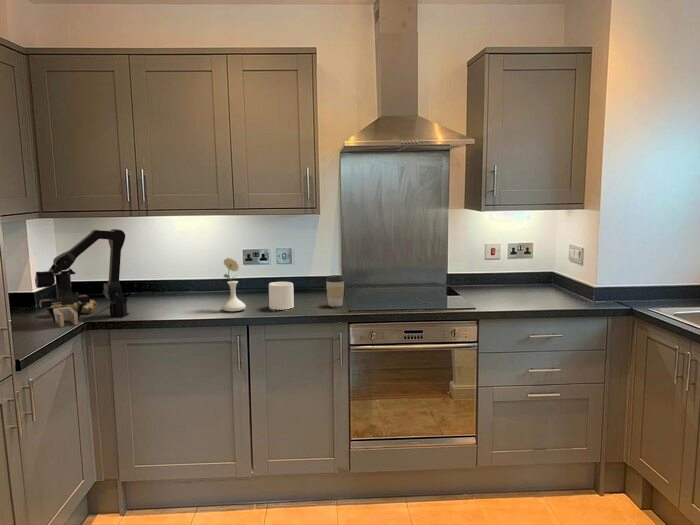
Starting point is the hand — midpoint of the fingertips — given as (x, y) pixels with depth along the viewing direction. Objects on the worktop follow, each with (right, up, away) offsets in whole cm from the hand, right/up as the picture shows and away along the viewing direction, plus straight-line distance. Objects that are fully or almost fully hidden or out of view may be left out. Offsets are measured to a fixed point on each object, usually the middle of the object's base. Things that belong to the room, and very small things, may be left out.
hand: (66, 320), depth 238 cm
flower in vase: (+67, +2, +24) cm, 71 cm away
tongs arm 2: (+2, -1, +2) cm, 3 cm away
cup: (+90, +3, +28) cm, 94 cm away
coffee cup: (+115, +4, +33) cm, 120 cm away
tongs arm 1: (-2, -1, -1) cm, 3 cm away
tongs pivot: (-5, 0, +6) cm, 8 cm away
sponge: (-7, +1, +18) cm, 19 cm away
